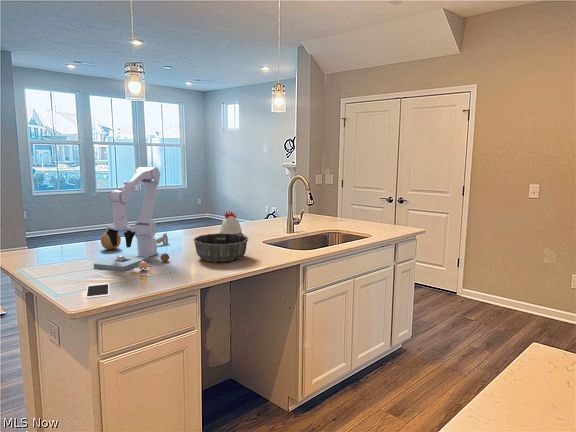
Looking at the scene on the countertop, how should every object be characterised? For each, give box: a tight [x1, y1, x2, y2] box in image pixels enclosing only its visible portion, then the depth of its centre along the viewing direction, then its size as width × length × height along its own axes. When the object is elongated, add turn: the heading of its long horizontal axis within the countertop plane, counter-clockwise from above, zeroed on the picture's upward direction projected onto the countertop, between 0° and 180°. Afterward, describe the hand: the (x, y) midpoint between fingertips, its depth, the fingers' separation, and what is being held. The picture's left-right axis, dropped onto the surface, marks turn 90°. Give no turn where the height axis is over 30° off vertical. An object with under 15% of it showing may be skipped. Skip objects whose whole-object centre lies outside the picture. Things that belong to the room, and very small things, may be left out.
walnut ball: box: [159, 252, 170, 263], centre depth 197 cm, size 4×4×4 cm
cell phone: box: [84, 282, 111, 299], centre depth 156 cm, size 8×16×1 cm, turn 23°
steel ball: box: [116, 255, 126, 262], centre depth 191 cm, size 4×4×4 cm
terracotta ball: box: [137, 261, 149, 271], centre depth 182 cm, size 4×4×4 cm
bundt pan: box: [193, 232, 249, 263], centre depth 204 cm, size 26×26×10 cm
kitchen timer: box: [219, 210, 243, 235], centre depth 263 cm, size 14×14×15 cm
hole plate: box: [93, 253, 151, 272], centre depth 191 cm, size 18×16×2 cm
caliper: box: [156, 233, 169, 245], centre depth 228 cm, size 20×1×6 cm, turn 151°
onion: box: [100, 230, 122, 250], centre depth 220 cm, size 10×10×10 cm
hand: (121, 246), depth 190 cm, fingers open, 7 cm apart
